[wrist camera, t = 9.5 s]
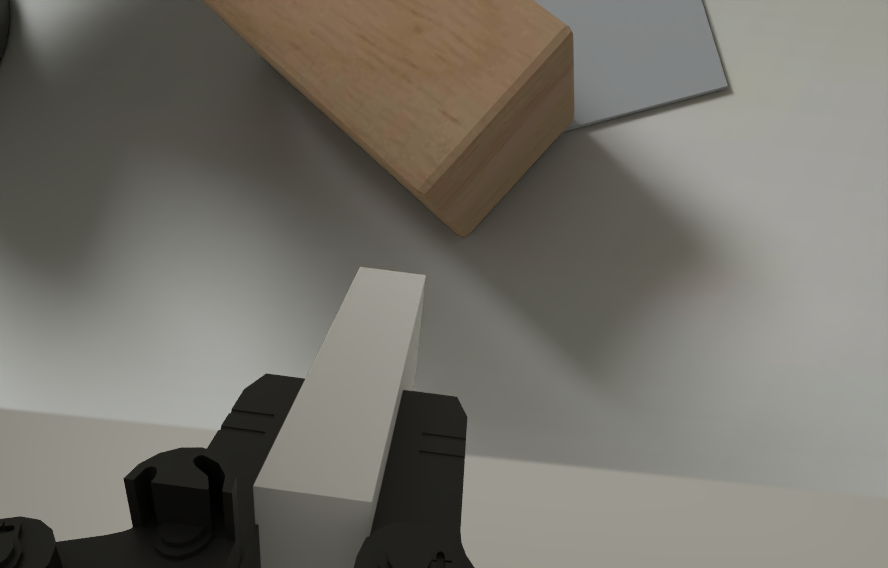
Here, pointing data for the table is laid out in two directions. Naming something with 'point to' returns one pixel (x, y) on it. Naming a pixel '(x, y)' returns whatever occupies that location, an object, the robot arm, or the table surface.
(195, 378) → the table surface
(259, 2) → the wooden block
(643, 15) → the grey mat
